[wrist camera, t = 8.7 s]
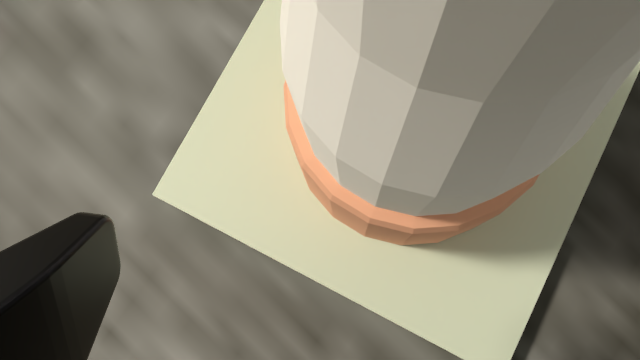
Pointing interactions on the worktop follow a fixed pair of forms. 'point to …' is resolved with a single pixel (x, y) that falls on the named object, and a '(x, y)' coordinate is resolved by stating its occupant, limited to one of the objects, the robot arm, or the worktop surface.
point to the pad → (350, 246)
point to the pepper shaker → (443, 102)
